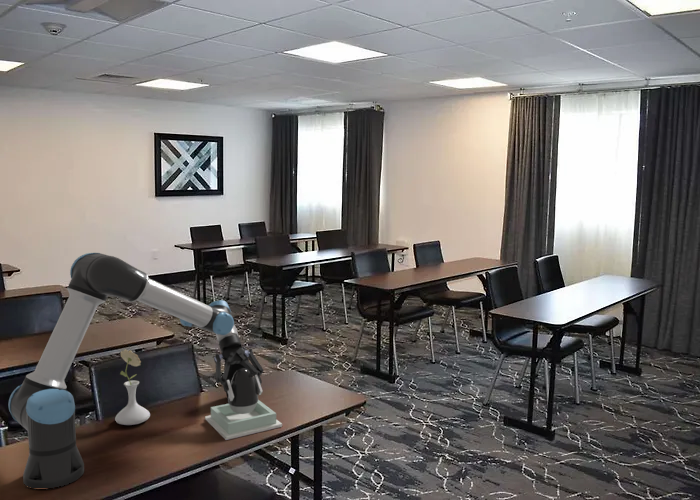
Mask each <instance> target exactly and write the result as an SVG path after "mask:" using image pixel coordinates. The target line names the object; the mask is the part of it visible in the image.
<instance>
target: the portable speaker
mask: <svg viewBox="0 0 700 500" xmlns="http://www.w3.org/2000/svg"><path fill="white" fill-rule="evenodd" d="M242 348H243V349H244V350H248V349H247V348H246V347H245V346H242ZM244 356H245V357H246V359H247V360H248V361H249V362H250V360H249V358H248V357H247V356H246V355H245V354H244ZM223 362H224V368H223V369H224V370H225V365H226V361H225V360H224V361H223ZM240 368H245V367H244V366H243V365H241V364H240V363H238V364H237V363H235V364H232V365H231V364H230V367H229V371H228V375H227V379H226V381H227V380H229V381H230V384H231V381H232V378H233V376H234V374H235V372H236V371H237V370H238V369H240ZM224 370H223V371H224ZM225 394H226V398H227V399H228V392H225Z"/></svg>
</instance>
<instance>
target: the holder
mask: <svg viewBox="0 0 700 500" xmlns="http://www.w3.org/2000/svg"><path fill="white" fill-rule="evenodd" d="M204 420H205V421H206V422H207V423H208V424H209V425H210V426H211V427H213V428H214V430H215V431H216V432H217V433H218V434H219V435H220V436H221V437H222V438H223V439H224V440H225V441H227V440H233V439H237V438H241V437H245V436H249V435H253V434H257V433H262V432H267V431H269V430H270V431H271V430H273V429H278V428H283V423H282V422H281V421H279V419H277V412H275V411H274V410H273V409H271V408H270V407H269V406H268V405H266V404H265V403H264V402H262V401H261V400H259V399H258V402H257V405H256V407H255V409H254V410H253V411H251V412H249V413H247V414H238V413H235V412H234V411H232V409H231V408H230V405H229V403H226V404H220V405H216V406H215V405H214V406H210V414H209V415H206V416H204Z"/></svg>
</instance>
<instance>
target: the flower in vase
mask: <svg viewBox="0 0 700 500" xmlns="http://www.w3.org/2000/svg"><path fill="white" fill-rule="evenodd" d="M120 357H121V358H122V360H123V361H124V362H125V363H126V367H125V370H124V371H123V370H121V371H120V373H119V375H120V376H123V377H125V378H127V380H128V381H125V382H124V383H123V386H124V387H125V388H126V390H127V393H128V395H127V397H128V401H127V404H126V406H125V407H123V408H122V409H121V410H120V411H118V412H117V414H116V415H115V418H114V420H115V421H116V423H117V424H119V425H124V426H132V425H133V426H134V425H139V424H142V423H144V422H146V421H147V420H148V419H149V418H150V417H151V413H150V411H149V410H148V409H146V408H145V407H143V406H141V405H140V404H139V403H138V402H137V398H136V392H137V387H138V386H139V384H140V381H139V380H132V379H133V378H135V377H136V376H137V375H138V373H136V374H133V375H132V376H131V377H129V376H128V372H127V370H128V365H131V366H132V367H139V366H141V363H142V361H141V360H140V359H141V358H139V355H138V354H136V352H133V350H132V349H130V350H128V349H126V348H125V349H123V350H121V351H120Z"/></svg>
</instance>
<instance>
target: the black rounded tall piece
mask: <svg viewBox="0 0 700 500" xmlns="http://www.w3.org/2000/svg"><path fill="white" fill-rule="evenodd" d="M257 374H258V373H257V371H256V372H252V373H250V371H249V370H248V369H246V368H240V369H238V370H237V371H236V372H235V374H234V376H233V378H232V381H231V388H232V391H233V394H234V399H233V401H230V399H229V395H228V398H227V402H228V403H227V404H229V405H230V408H231V409H232V411H234V412H235V413H238V414H247V413H249V412H251V411H253V410H254V409H255V407H256V405H257V402H258V400H259V395H258V392H257V387H256V384H255V381H254V376H255V375H257Z"/></svg>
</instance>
